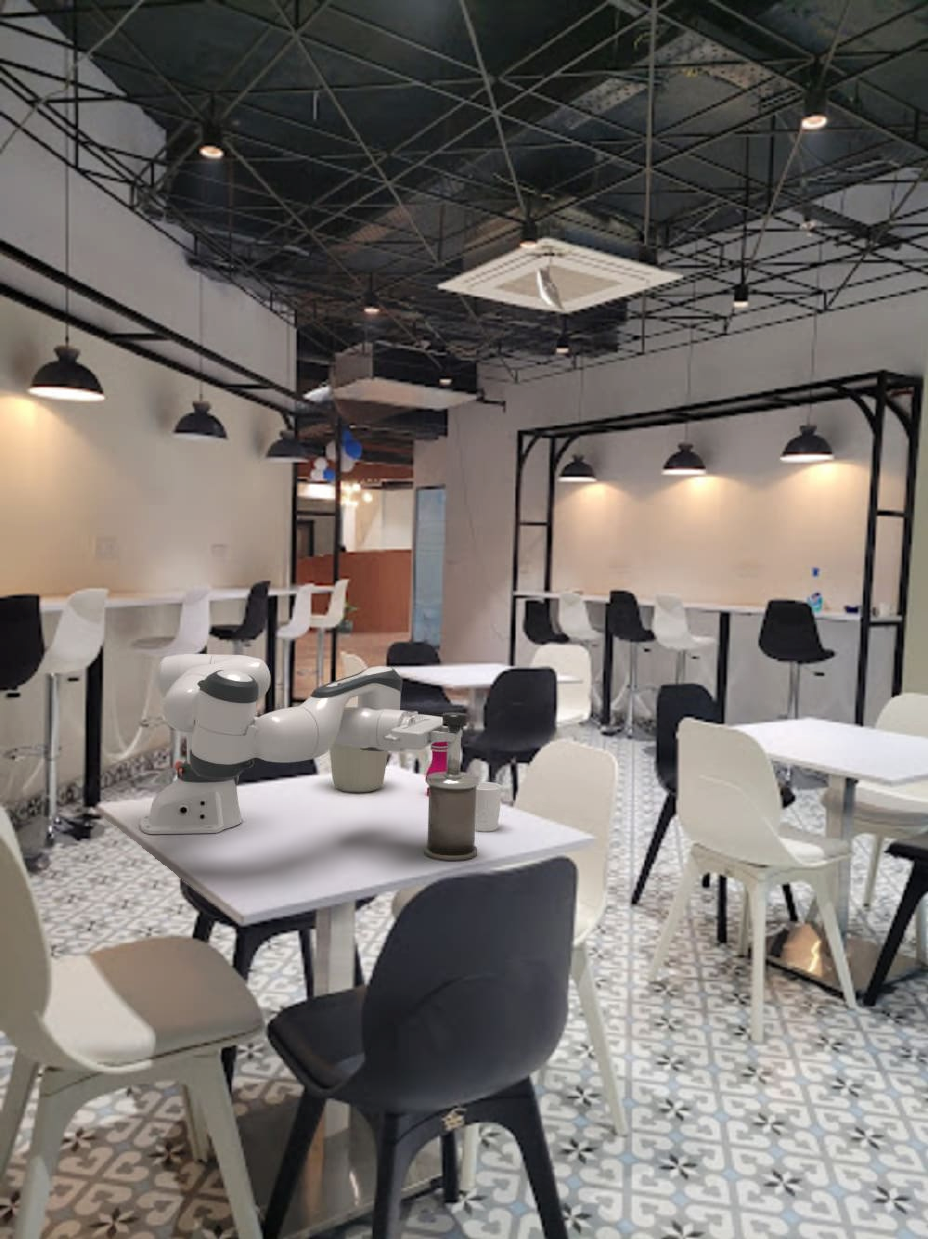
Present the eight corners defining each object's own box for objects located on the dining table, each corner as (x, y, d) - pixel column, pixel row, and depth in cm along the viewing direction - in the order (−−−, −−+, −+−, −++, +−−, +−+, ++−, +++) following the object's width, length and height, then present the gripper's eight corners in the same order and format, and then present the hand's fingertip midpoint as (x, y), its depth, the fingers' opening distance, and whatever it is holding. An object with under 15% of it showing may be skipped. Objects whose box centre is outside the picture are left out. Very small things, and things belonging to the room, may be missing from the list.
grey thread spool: (434, 863, 184) (436, 781, 183) (417, 847, 195) (419, 769, 194) (485, 858, 188) (487, 778, 187) (465, 843, 199) (468, 766, 198)
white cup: (504, 825, 214) (505, 783, 213) (494, 834, 206) (496, 791, 206) (472, 821, 216) (474, 780, 216) (462, 830, 209) (463, 787, 208)
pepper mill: (453, 792, 244) (455, 719, 243) (450, 799, 237) (452, 723, 236) (426, 791, 245) (429, 718, 244) (423, 797, 238) (425, 722, 237)
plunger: (445, 777, 187) (447, 716, 186) (437, 771, 192) (439, 712, 191) (469, 775, 189) (470, 716, 188) (460, 770, 194) (462, 712, 193)
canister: (378, 779, 258) (380, 705, 256) (401, 793, 241) (403, 715, 240) (316, 783, 250) (318, 707, 249) (336, 799, 233) (338, 718, 232)
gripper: (378, 723, 184) (443, 728, 180) (413, 709, 203) (472, 714, 199) (378, 753, 184) (442, 759, 180) (413, 737, 204) (471, 742, 200)
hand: (458, 735), depth 190 cm, fingers closed on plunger, 3 cm apart
